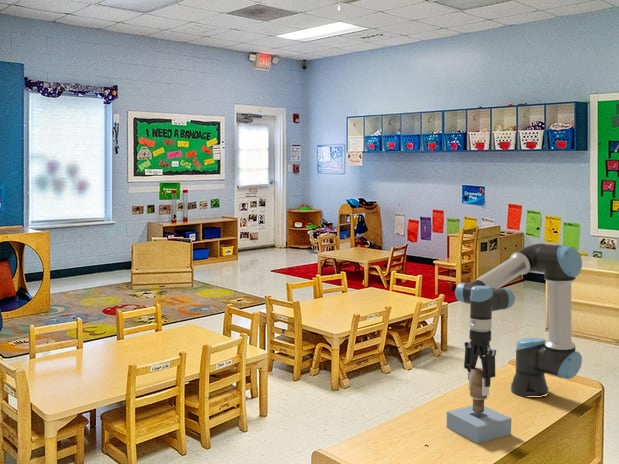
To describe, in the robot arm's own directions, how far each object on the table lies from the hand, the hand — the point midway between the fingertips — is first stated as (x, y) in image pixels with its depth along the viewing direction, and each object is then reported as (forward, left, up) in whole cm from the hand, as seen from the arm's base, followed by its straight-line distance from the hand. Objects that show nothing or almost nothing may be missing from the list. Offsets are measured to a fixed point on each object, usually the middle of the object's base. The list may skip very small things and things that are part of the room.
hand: (478, 392), depth 223 cm
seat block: (0, 0, -15) cm, 15 cm away
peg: (0, 0, -7) cm, 7 cm away
